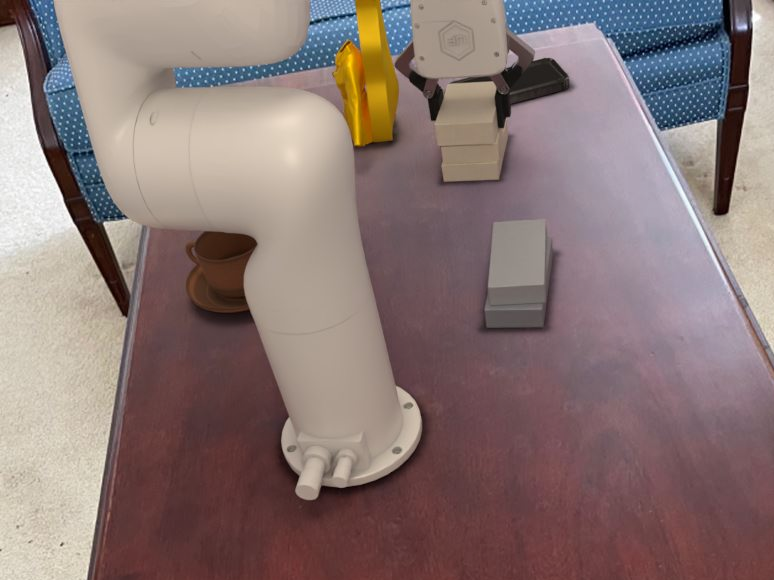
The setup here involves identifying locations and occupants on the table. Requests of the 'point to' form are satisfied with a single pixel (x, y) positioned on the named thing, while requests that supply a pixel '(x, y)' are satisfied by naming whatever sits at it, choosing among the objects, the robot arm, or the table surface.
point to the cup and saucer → (219, 271)
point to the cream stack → (474, 159)
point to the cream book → (467, 115)
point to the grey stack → (518, 274)
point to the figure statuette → (368, 78)
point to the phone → (532, 80)
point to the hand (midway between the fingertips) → (471, 122)
